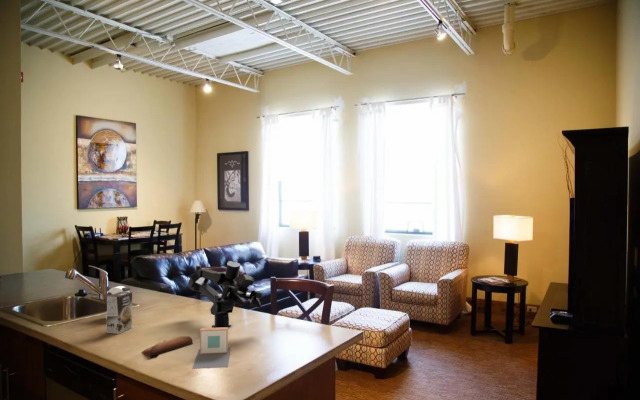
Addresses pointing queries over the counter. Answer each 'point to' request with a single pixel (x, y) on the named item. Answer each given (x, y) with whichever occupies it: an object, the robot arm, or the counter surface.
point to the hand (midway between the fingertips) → (252, 305)
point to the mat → (211, 360)
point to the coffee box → (119, 312)
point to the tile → (214, 340)
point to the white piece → (116, 290)
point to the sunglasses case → (167, 346)
